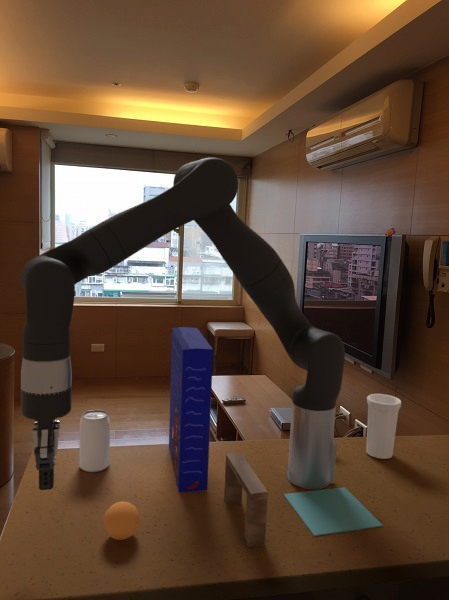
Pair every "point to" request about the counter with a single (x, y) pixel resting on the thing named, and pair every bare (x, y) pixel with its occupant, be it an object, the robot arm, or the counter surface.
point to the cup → (381, 424)
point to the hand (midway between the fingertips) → (46, 487)
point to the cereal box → (190, 408)
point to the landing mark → (331, 511)
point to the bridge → (257, 497)
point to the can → (94, 441)
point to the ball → (121, 520)
